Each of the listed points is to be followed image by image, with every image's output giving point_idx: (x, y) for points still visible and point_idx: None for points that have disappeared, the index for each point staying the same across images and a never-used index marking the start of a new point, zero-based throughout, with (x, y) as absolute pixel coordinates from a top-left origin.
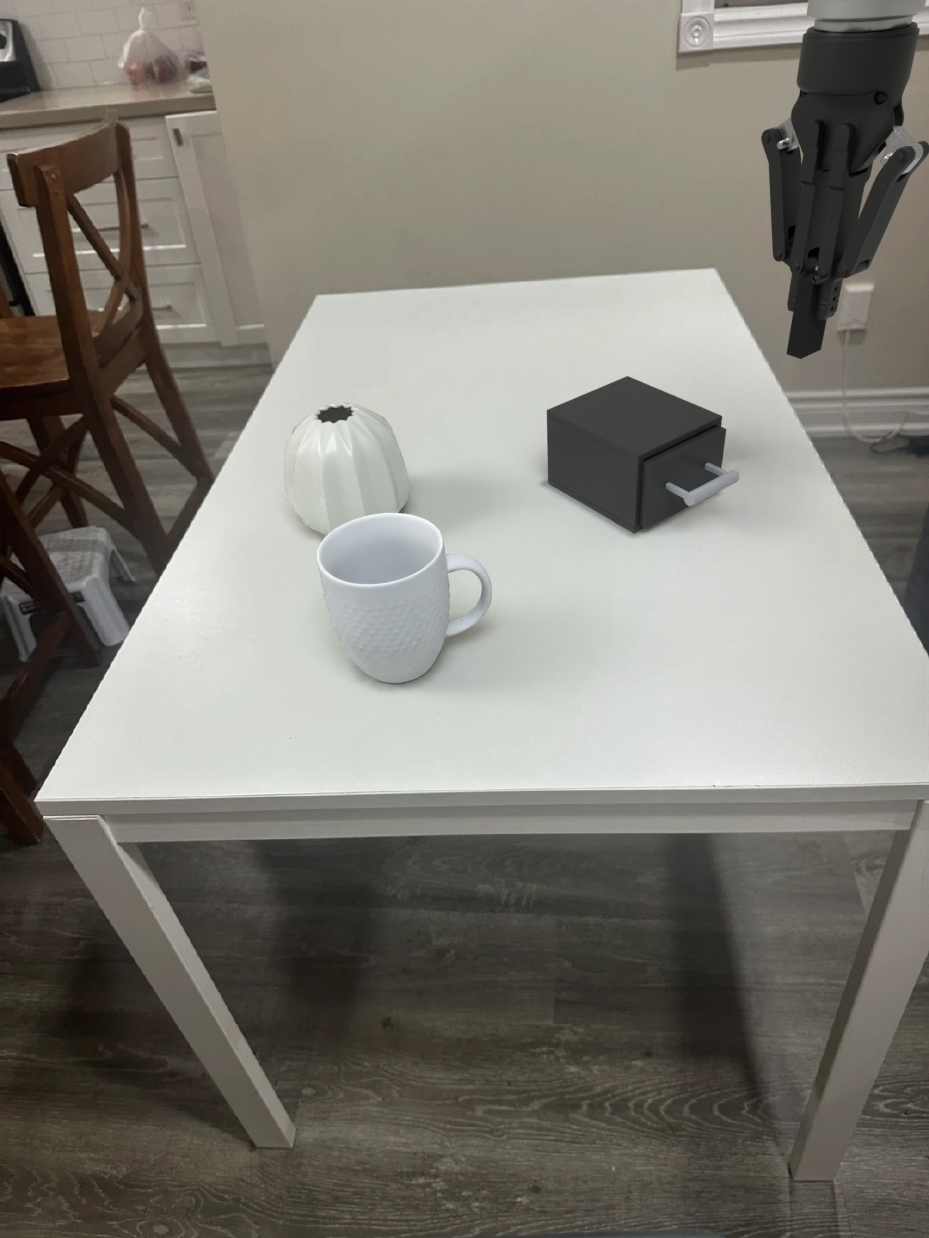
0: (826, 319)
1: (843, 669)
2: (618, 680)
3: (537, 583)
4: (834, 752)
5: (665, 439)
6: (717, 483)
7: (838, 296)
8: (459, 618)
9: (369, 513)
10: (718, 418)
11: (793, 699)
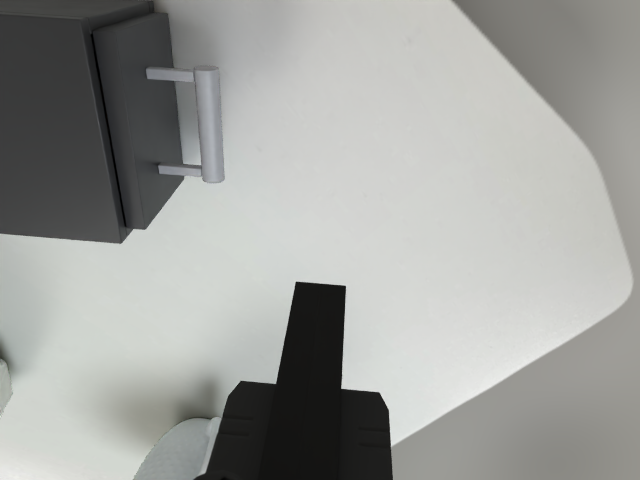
0: (341, 348)
1: (524, 223)
2: (354, 358)
3: (186, 314)
4: (560, 315)
5: (99, 176)
6: (213, 125)
7: (389, 457)
8: (211, 425)
9: (1, 402)
10: (83, 33)
11: (499, 287)
